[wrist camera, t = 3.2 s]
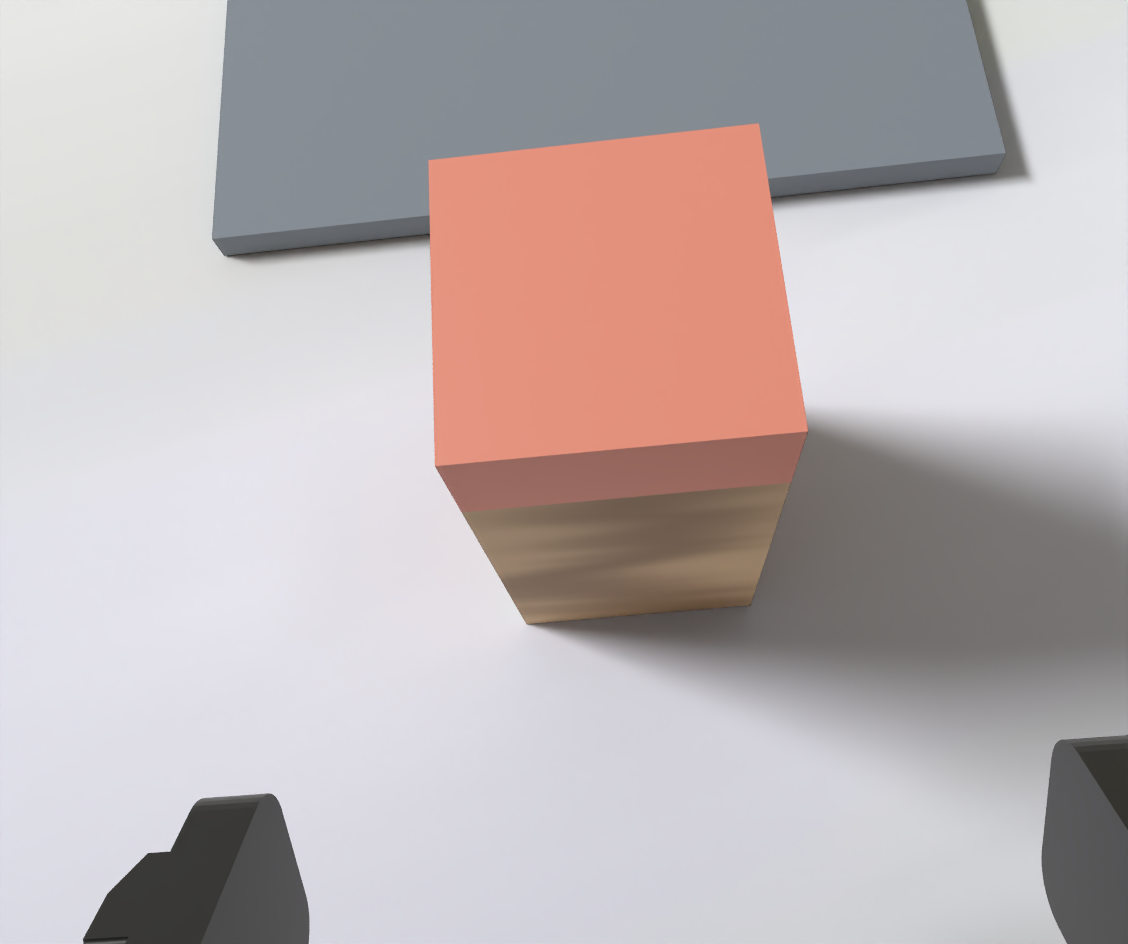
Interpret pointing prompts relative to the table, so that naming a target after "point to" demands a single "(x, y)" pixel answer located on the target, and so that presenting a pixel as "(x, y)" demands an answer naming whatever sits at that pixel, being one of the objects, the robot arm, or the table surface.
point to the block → (615, 369)
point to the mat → (576, 97)
